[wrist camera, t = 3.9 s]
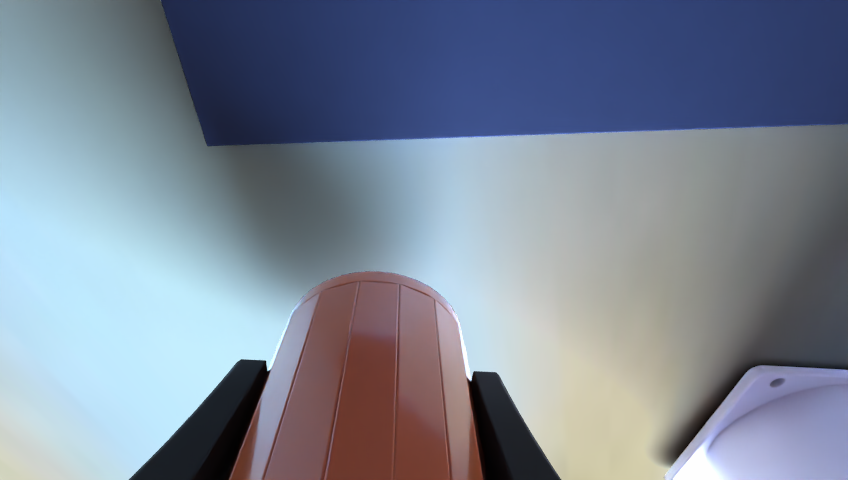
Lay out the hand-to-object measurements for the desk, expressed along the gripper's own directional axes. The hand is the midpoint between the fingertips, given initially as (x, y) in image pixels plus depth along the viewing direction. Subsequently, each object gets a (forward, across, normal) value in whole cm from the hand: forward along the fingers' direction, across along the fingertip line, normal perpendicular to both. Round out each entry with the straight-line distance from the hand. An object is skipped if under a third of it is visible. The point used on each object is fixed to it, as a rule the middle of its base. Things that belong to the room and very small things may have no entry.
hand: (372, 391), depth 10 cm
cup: (+2, 0, 0) cm, 2 cm away
